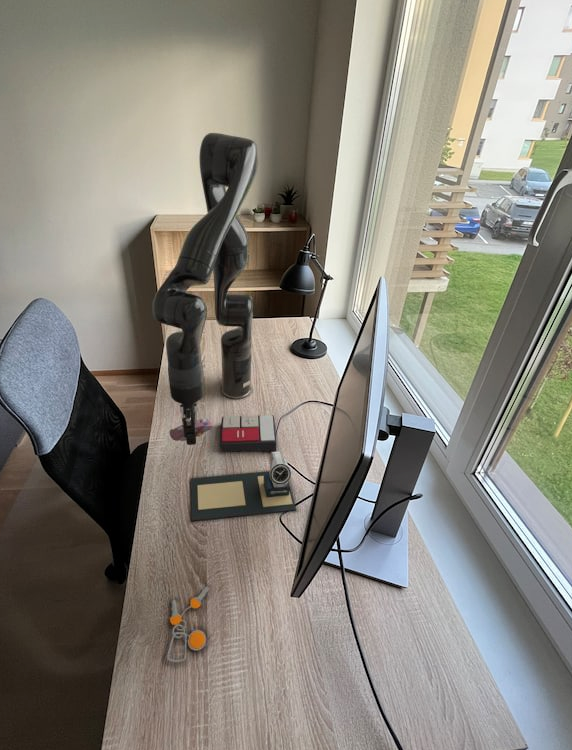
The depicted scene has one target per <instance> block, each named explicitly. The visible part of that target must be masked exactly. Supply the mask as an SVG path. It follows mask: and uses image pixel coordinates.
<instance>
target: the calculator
mask: <svg viewBox="0 0 572 750" xmlns="http://www.w3.org/2000/svg"><path fill="white" fill-rule="evenodd" d="M275 421H276V420H275V415H274V414H260V415H258V414H247V415H246V414H245V415H224V416H222V417H221V423H220V425H221V426H220V439H219V446H220V452H247V451H249V452H250V451H260V452H277V434H276V433H277V432H276V422H275Z"/></svg>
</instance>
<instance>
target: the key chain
mask: <svg viewBox="0 0 572 750" xmlns="http://www.w3.org/2000/svg"><path fill="white" fill-rule="evenodd" d="M209 591H210V588H209V586H205V587H204V588H203V590H201V592H200V593H199V594H198V596H196V597H192V598H191V599H190V601H189V604H190V605H189V606H187V607H186V608H185V609H183V611H182V612H181V614H180V613H178V606H177V605H178V604H177V600H176V599H173V600H171V602H170V604H171V608H170V610H171V616H170V617H169V622H170V624H171V625H172V626H173V627H172V629H171V634H172V636H171V640H170V642H169V646H168V650H167V654H166V661H168V662H169V663H175V664H177V663H178V664H179V663H182V662H183V663H184V662H186V660H187V656H188V655H187V644H188V648H190V650H192V651H193V652H199V651H201V650H203V649H204V647H205V645H206V643H207V636H206V633H205V632H204V631H203V630H201V629H195V630H193V631H192V632H191V633H190V634H188V633H186V628H187V621H186V620H184V619H182V618H183V616H184V614H185V613H186V611H188V610H189V609H193V610H194V609H199V608H200V607H201V606H202V601H203V598H205V597H206V595H207V592H209ZM181 622H183V623H184V625H182V624H180V623H181ZM180 628H181V629H180ZM175 629H176V630H177V632H175ZM187 637H188V638H187ZM182 638H183V641H184V654H183V658H181V659H172V658H170V655H171V650H172V646H173V642H174V640H175V639H182Z"/></svg>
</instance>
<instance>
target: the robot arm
mask: <svg viewBox="0 0 572 750" xmlns="http://www.w3.org/2000/svg"><path fill="white" fill-rule="evenodd" d="M259 153H260V152H259V148H258V144H257V143H256V142H255V141H254V140H252V139H249V138H246V137H242V136H236V135H230V134H227V133H226V134H224V133H218V132H209V133H207V134H205V136H204V137H203V138H202V140H201V142H200V148H199V156H198V157H199V159H198V160H199V163H198V164H199V173H200V179H201V184H202V190H203V196H204V200H205V206H206V214H205V215H203V217H202V218H200V219H199V220H198V221H197V222H196V223H195V224H193V226H192V227H191V228H190V230H189V231H188V233H187V234H186V236H185V239H184V241H183V244H182V246H181V249H180V252H179V255H178V259H177V260H176V264H175V266H174V268H173V269H172V270H171V271H170V272H169V274H168V275H167V277H166V278H165V280H164V281H163V283H162V284H161V286H160V287H159V288H158V290H157V291H156V294H155V295H154V298H153V301H152V314H153V317H154V320H156V321H157V322H159V324H163V325H166V326H170V327H173V328H176V329H180V330H179V331H175V332H172V333H170V334H169V335H168V337H166V341H165V349H166V350H165V351H166V357H167V375H168V383H169V390H170V397H171V399H172V400H173V401H174V402H175V403H178V404H179V412H180V413H181V415H180V416H181V425H183V427H184V437H185V438H186V445H187V446H193V445H196V444H197V437H196V427H195V424H196V423H197V420H198V410H199V407H198V402H199V401H200V400H202V399H203V398H204V396H205V378H204V377H205V376H204V365H203V362H202V351H201V342H202V337H203V334H204V333H203V332H204V327H205V324H206V321H207V317H208V307H207V305H206V302H205V301H204V299H203V298H202V297H201V296H199V295H197V294H193V293H189V292H187V291H188V289H190V288H191V287H195V286H196V287H197V286H205V285H206V284H208V283H209V281H210V279H211V278H212V277H211V276H212V275H213V288H214V289H213V290H214V292H213V293H214V295H213V298H214V318H215V321H216V323H217V324H218V325H219V326H221V327H232V328H233V327H235V328H233V329H230V330H227V331H225V332H224V333H222V335H221V337H220V351H221V352H220V355H221V358H220V359H221V392H222V394H223V395H224V396H225V397H227V398H229V399H233V400H234V399H236V400H237V399H244V398H246V397H247V396H249V395H250V393H251V392H252V345H253V344H252V339H253V338H252V336H253V335H252V330H253V317H254V300H253V297H252V296H251V294H248V293H247V294H246V293H229V292H228V291H229V290H230V287H231V286H232V284H234V282H235V281H236V280H237V278H239V276H240V275H242V273H243V271H244V270H245V269H246V266H247V264H248V262H249V235H248V232H247V230H246V228H245V226H244V224H243V222H242V221H241V219H240V217H239V216H238V213H239V212H240V209H241V207H242V205H243V204H244V202H245V200H246V198H247V196H248V194H249V192H250V190H251V188H252V186H253V183H254V180H255V179H256V175H257V172H258V168H259V163H260V161H259V160H260V154H259Z"/></svg>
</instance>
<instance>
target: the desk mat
mask: <svg viewBox="0 0 572 750" xmlns="http://www.w3.org/2000/svg"><path fill="white" fill-rule="evenodd" d="M269 472H270V470H265V471H257V472H245V473H235V474H233V473H232V474H223V475H214V476H213V475H212V476H204V477H203V476H202V477H191V479H190V484H191V485H190V486H191V489H190V490H191V491H190V493H191V494H190V495H191V522H199V521H209V520H218V519H227V518H239V517H247V516H259V515H265V514H266V515H267V514H276V513H285V512H295V511H297V507H296V504H295V499H294V496H293V492H292V488H291V487H290V491H289V495H286V496H276V497H266V493H265V488H264V483H263V481H264V474H269ZM289 485H290V483H289ZM290 486H291V485H290Z"/></svg>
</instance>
